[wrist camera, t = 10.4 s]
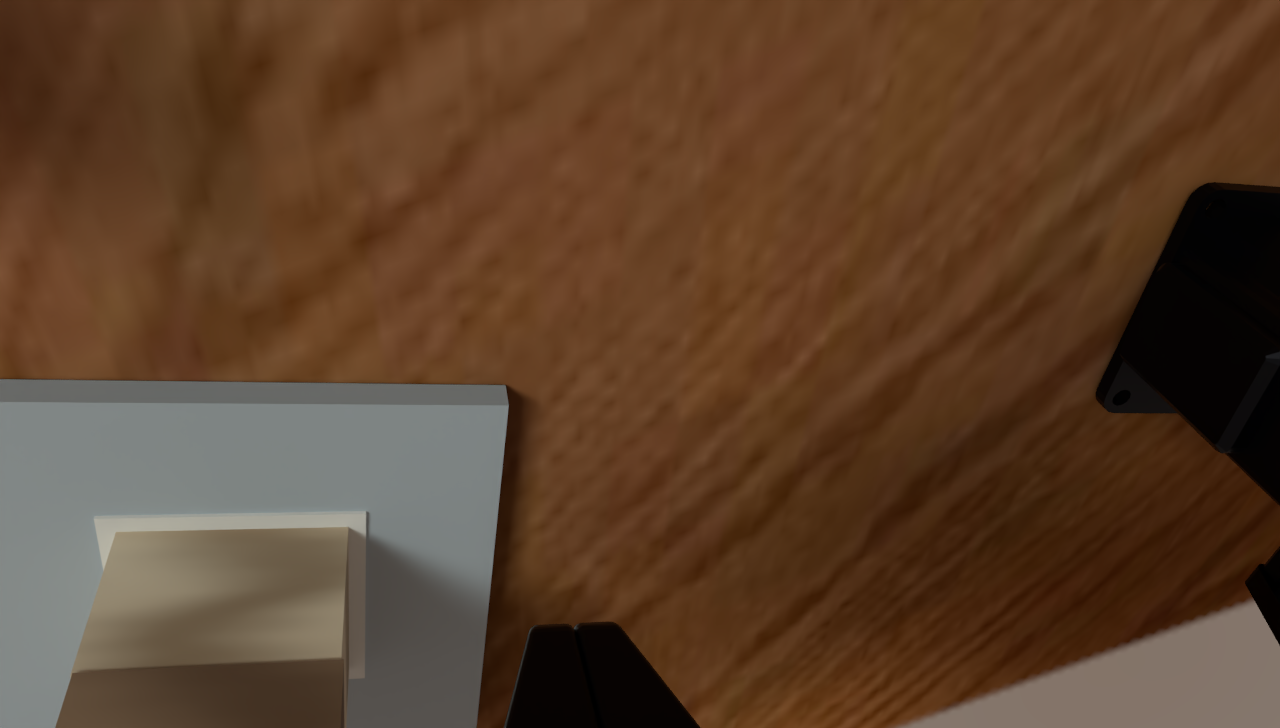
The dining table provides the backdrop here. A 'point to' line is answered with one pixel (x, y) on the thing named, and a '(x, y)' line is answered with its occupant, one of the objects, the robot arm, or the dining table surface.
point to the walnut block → (209, 697)
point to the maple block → (220, 600)
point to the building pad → (259, 518)
